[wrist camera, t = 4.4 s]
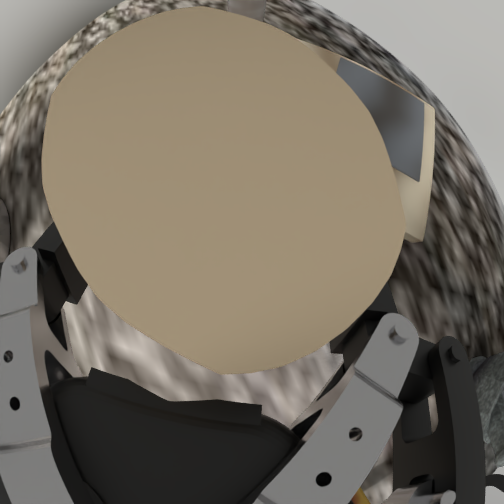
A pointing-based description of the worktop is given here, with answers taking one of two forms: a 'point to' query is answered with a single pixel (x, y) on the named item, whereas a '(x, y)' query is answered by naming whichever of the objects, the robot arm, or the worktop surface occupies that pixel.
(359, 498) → the candy box
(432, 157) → the plate
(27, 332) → the robot arm
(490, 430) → the mortar and pestle
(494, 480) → the coffee press
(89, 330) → the worktop surface
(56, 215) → the handle
